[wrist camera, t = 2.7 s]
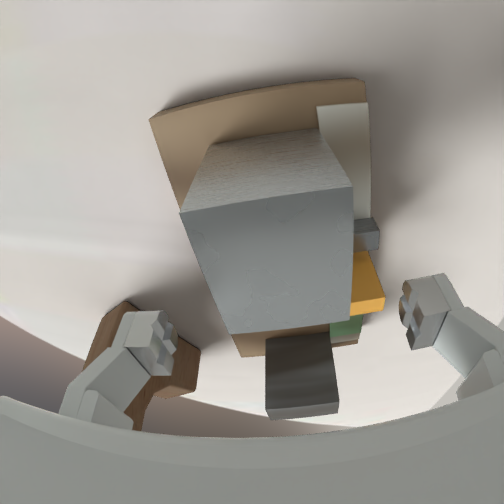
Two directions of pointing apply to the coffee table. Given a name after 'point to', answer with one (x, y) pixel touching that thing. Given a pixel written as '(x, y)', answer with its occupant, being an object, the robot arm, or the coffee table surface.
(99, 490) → the robot arm
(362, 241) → the block
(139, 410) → the wooden block
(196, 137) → the bench
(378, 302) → the amber brick
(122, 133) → the coffee table surface
